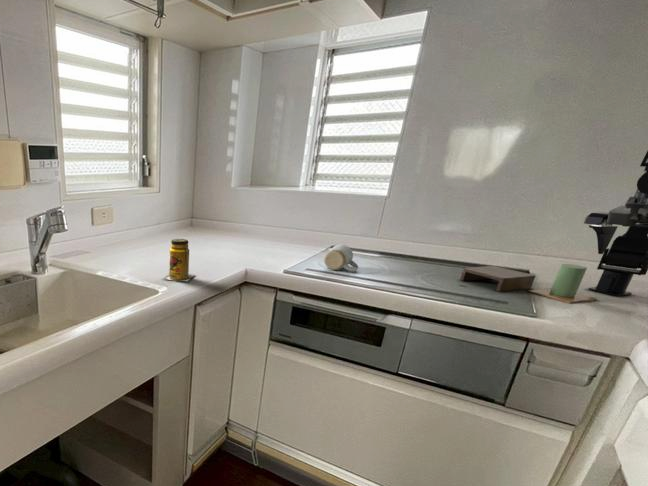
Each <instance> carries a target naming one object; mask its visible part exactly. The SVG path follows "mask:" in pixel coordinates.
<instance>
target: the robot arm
mask: <svg viewBox="0 0 648 486" xmlns="http://www.w3.org/2000/svg"><path fill="white" fill-rule="evenodd" d="M639 167H642V168H643V167H644V170H643V171H644V173H643V174H642V175H640V177H639V178H638V179H637V182H636V190H635V193H634V195H633V196H629V198H628V199H627V200H626V202H625V203H624V204H623V205H619V206H617V207H615V208H612V209H610V210H609V211H608V212H606V211H605V212H603V211H602V212H600V211H599V212H590V213H589V214H587V216H585V219H584V221H583V224H584V225H585V224H586V225H588V228H590V229H592V230H593V231H594V232H595V234H596V238H597V239H596V240H597V241H596V242H597V254H598V255H601V258H600V260H599V262H598V265H597V268H596V270H602V274H601V275H600V277H599V279H598V282H597V284H596V286H593V287H588V288H587V290H588V291H593V292H597V293H601V294H606V295H609V296H613V297H621V296H630V295H632V294H633V292H630V291H627V289H628V287H629V286H630V282H631V281H632V280H633V277H634V275H635V276H646V275H647V273H648V150H647V151H646V153H645V155H644V157H643V159H642V161H641V163H640V165H639ZM619 226H622V227H628V228H627V230H626V231H625V233H623V234H622V235H618V236H617V237H615V239H613V237H614V235H615V233H616V232H617V229H618V227H619ZM612 239H613V240H612ZM611 241H612V243H611ZM610 243H611V244H610ZM609 245H610V246H609Z"/></svg>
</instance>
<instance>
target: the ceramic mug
mask: <svg viewBox="0 0 648 486" xmlns="http://www.w3.org/2000/svg"><path fill="white" fill-rule="evenodd" d="M353 257H354V253H353V250H352V249H351V247H349V245H346V244H337V245H334V246H333V247H332V248H331V249H329V250H328V251H327V252H326V253H325V255H324V258H323V263H324V265H325V267H326V268H327V269H329V270H331V271H339V270H341V269H344V270H347V271H349V272H350V273H351V272H352V273H355V272H357V271H358V270H359V269H360V268H359V265H358V264H357V263H356V262H355V261H354V260H353Z"/></svg>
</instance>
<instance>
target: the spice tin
mask: <svg viewBox="0 0 648 486" xmlns="http://www.w3.org/2000/svg"><path fill="white" fill-rule="evenodd" d="M587 269H588V268H587V266H583V265H578V264H573V263H572V264H570V263H562V264H561V265H560V266H559V269H558V271H557V274H556V275H555V279H554V281H553V284H552V286H551V291H550V293H551V294H553V295H557V296H562V297H575V294H577V292H578V290H579V287H580V285H581V284H582V281H583V278H584V276H585V274H586V271H587Z"/></svg>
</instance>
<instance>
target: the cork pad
mask: <svg viewBox="0 0 648 486" xmlns="http://www.w3.org/2000/svg"><path fill="white" fill-rule="evenodd" d="M551 288H552V287H551ZM551 288H539V289H528V290H527V292H528V293H531V294H535V295H538V296H542V297H546V298H549V299H552V300H556V301H560V302H564V303H567V304H572V303H575V304H576V303H582V302H592V301H597V300H598V299H597V298H595V297H592V296H587V295H584V294H580V293H576V294H575V297H562V296H557V295H553V294H551V293H550V291H551Z"/></svg>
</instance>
